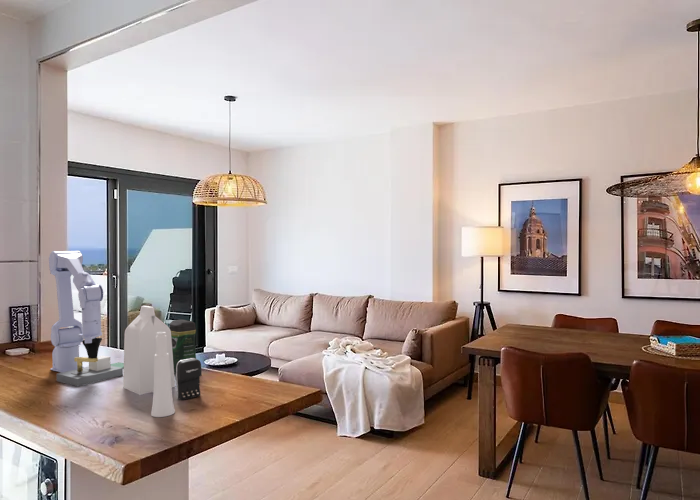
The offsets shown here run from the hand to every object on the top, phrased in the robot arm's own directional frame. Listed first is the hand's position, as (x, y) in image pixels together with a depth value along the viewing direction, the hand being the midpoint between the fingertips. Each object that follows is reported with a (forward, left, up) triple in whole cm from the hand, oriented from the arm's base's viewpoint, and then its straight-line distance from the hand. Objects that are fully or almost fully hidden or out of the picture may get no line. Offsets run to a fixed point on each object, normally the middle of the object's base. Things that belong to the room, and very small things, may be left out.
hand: (92, 360), depth 172 cm
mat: (-10, +14, -7) cm, 19 cm away
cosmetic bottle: (+51, -10, -7) cm, 52 cm away
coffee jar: (+18, +23, -7) cm, 30 cm away
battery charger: (+46, +3, -7) cm, 46 cm away
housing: (-3, +1, -7) cm, 7 cm away
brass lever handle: (-1, -2, -4) cm, 4 cm away
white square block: (-3, +4, -4) cm, 7 cm away
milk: (+25, +4, -7) cm, 26 cm away
